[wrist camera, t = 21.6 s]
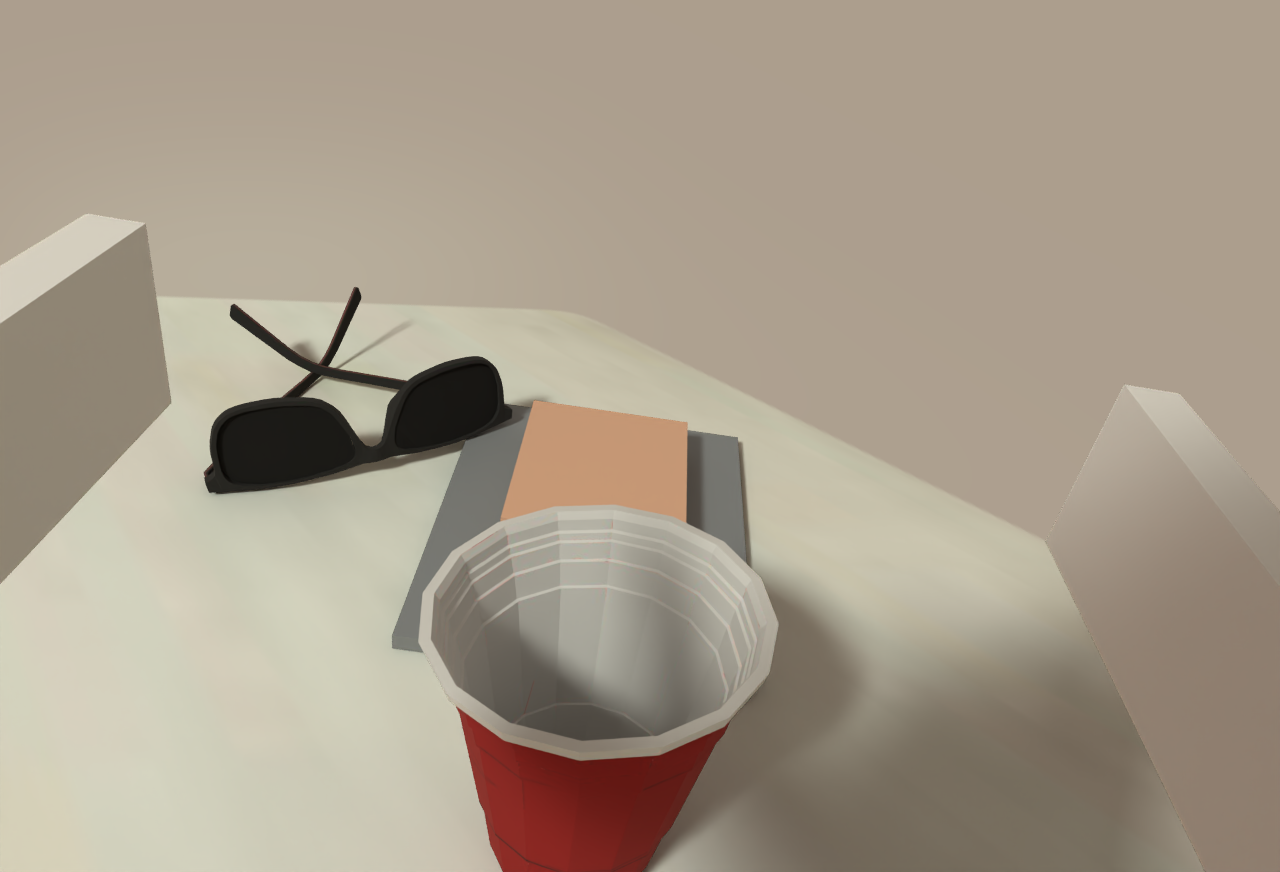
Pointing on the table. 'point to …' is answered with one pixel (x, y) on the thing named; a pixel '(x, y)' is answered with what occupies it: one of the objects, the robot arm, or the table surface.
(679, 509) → the tile
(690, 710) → the plastic cup
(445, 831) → the table surface
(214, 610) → the table surface
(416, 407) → the sunglasses
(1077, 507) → the robot arm
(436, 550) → the mat
